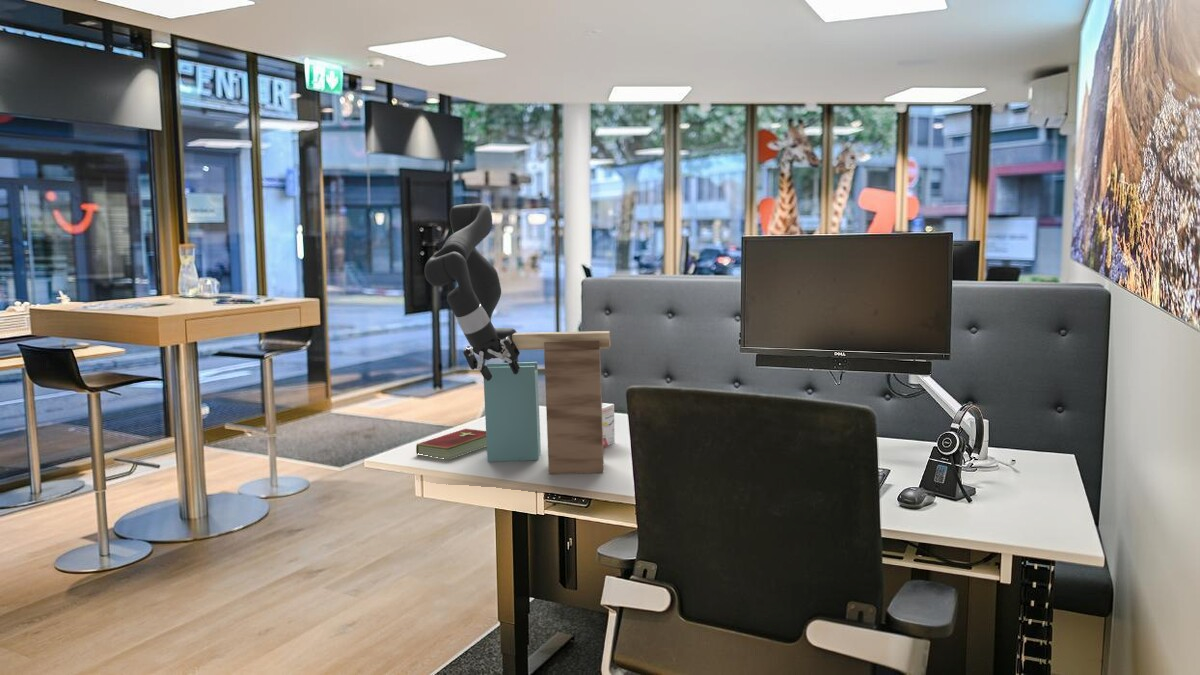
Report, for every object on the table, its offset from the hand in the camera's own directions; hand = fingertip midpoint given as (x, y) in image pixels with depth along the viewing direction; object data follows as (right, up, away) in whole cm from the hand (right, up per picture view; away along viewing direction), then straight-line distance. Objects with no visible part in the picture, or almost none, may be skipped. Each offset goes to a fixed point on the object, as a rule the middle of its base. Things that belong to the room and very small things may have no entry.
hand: (503, 375), depth 226 cm
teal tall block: (+2, -23, +14) cm, 27 cm away
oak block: (+15, +7, -3) cm, 17 cm away
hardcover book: (-16, -23, +24) cm, 37 cm away
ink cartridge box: (+26, -21, +24) cm, 41 cm away
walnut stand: (+19, -24, +1) cm, 31 cm away
